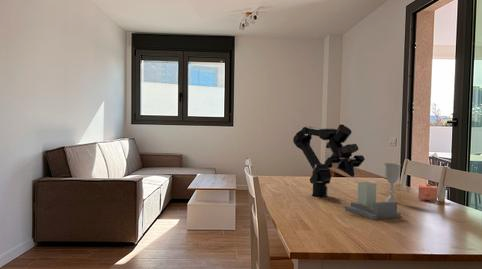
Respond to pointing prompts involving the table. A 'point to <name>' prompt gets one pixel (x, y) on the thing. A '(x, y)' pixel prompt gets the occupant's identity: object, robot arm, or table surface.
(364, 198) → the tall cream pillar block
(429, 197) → the pink cube teapot
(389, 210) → the track
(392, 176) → the chalice
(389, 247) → the table surface
